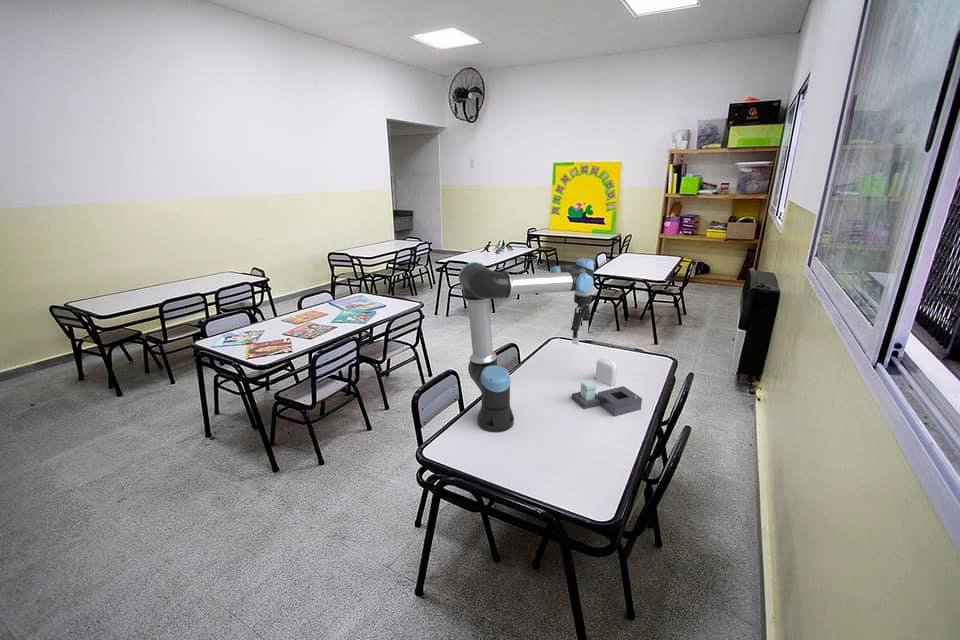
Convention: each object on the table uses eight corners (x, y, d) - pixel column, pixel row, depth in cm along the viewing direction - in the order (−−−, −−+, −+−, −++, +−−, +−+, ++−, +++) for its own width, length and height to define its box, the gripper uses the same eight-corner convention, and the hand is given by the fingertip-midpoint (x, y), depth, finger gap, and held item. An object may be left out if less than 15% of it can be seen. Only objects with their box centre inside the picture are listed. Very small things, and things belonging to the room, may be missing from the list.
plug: (585, 405, 193) (587, 386, 190) (579, 400, 197) (581, 382, 194) (594, 402, 194) (596, 384, 191) (588, 398, 198) (589, 380, 195)
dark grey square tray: (584, 410, 190) (584, 404, 189) (571, 399, 198) (571, 393, 197) (603, 405, 193) (603, 399, 192) (589, 395, 202) (590, 389, 201)
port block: (614, 417, 184) (615, 404, 182) (596, 404, 194) (597, 391, 192) (640, 410, 189) (642, 397, 186) (622, 397, 199) (623, 385, 197)
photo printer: (593, 380, 215) (595, 357, 211) (599, 378, 218) (601, 355, 214) (611, 388, 208) (613, 364, 204) (617, 385, 210) (619, 362, 206)
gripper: (583, 302, 180) (579, 349, 187) (599, 288, 200) (595, 331, 207) (565, 300, 183) (562, 346, 191) (583, 286, 204) (580, 328, 211)
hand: (579, 338), depth 199 cm, fingers open, 13 cm apart
